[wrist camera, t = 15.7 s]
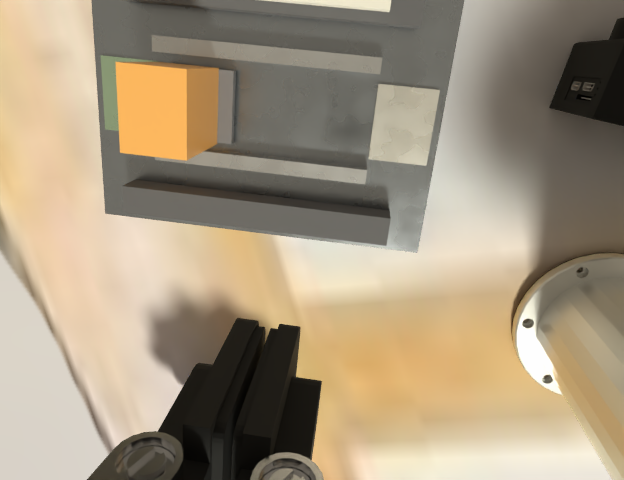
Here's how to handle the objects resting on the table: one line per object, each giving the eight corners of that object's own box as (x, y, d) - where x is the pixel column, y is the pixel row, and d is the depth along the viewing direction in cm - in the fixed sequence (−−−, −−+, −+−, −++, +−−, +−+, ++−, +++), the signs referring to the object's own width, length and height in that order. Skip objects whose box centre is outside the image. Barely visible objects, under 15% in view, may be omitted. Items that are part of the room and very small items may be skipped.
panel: (461, -17, 31) (471, -24, 28) (414, 243, 37) (418, 257, 34) (104, -48, 32) (79, -58, 30) (117, 206, 39) (98, 217, 36)
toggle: (235, 69, 32) (204, 70, 26) (233, 144, 34) (203, 162, 28) (149, 60, 32) (97, 59, 26) (151, 135, 34) (103, 150, 28)
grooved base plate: (423, -7, 29) (430, -15, 26) (385, 236, 35) (387, 252, 32) (126, -33, 31) (99, -44, 28) (135, 205, 36) (114, 218, 33)
